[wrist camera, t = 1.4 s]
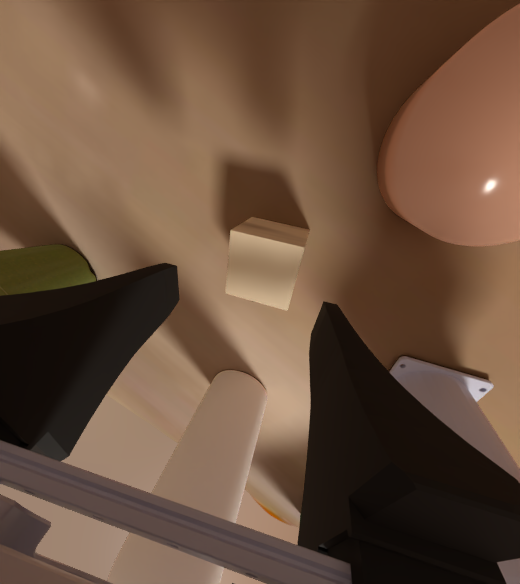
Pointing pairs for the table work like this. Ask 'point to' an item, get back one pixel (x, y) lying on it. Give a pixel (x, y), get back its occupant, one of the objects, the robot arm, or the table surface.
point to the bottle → (201, 480)
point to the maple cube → (265, 261)
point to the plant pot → (42, 269)
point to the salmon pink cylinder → (461, 144)
